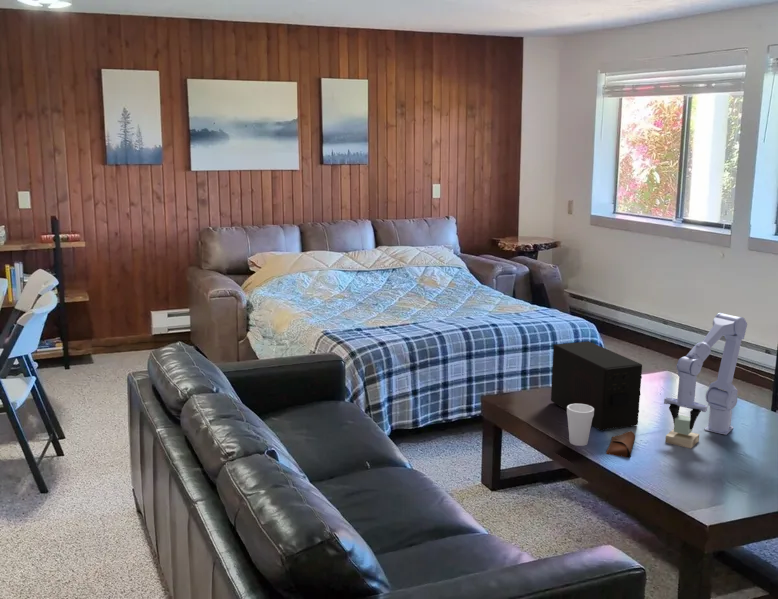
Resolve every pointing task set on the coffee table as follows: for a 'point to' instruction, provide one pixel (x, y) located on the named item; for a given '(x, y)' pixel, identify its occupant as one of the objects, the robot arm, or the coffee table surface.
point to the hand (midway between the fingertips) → (683, 426)
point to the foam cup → (579, 423)
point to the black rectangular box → (597, 383)
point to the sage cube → (682, 424)
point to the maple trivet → (682, 439)
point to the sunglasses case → (622, 444)
